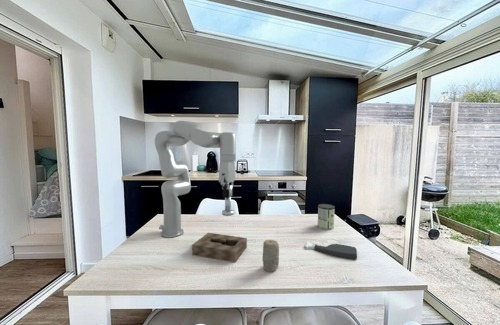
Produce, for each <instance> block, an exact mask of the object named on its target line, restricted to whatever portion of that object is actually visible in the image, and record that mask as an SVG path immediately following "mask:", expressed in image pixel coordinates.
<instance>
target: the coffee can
mask: <svg viewBox="0 0 500 325" xmlns="http://www.w3.org/2000/svg"><path fill="white" fill-rule="evenodd" d="M335 207H336V206H335V205H333V204H328V203H319V204H318V205H317V209H318V210H317V228H318V229H320V230H325V231H326V230H328V231H330V230H334V229H335V209H336V208H335Z"/></svg>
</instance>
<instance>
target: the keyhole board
mask: <svg viewBox="0 0 500 325" xmlns="http://www.w3.org/2000/svg"><path fill="white" fill-rule="evenodd" d="M247 244H248V238H247V237H242V236H234V235H228V234H220V233H214V232H207V233H205V235H203V236H202V237H200V238H199V239H198V240H197V241H195V242H194V243H193V244H192V247H191V249H192V250H191V254H192V256H196V257H203V258H208V259H213V260H219V261H225V262H231V263H237V261H238V260H239V259H240V258H241V256H242V255H243V253H244V252H245V251H246V249H247V248H248V245H247Z"/></svg>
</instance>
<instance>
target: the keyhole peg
mask: <svg viewBox="0 0 500 325" xmlns="http://www.w3.org/2000/svg"><path fill="white" fill-rule="evenodd" d="M226 186H227V184H226ZM232 188H233V187H232V185H229V188H228V189H229V198H224V209H222V211H221V213H222V214H221V215H222V216H225V217H229V216H233V215H235V210H234V209H232V197H233V196H232Z"/></svg>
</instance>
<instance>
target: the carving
mask: <svg viewBox="0 0 500 325" xmlns="http://www.w3.org/2000/svg"><path fill="white" fill-rule="evenodd" d="M262 244H263V247H262V266H263V267H262V268H263V270H265V271H266V272H274V271H276V270H277V269H278V268H279V265H280V264H279V263H280V246H279V242H278V241H277V240H274V239H265V240H264V241H263V243H262Z"/></svg>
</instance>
